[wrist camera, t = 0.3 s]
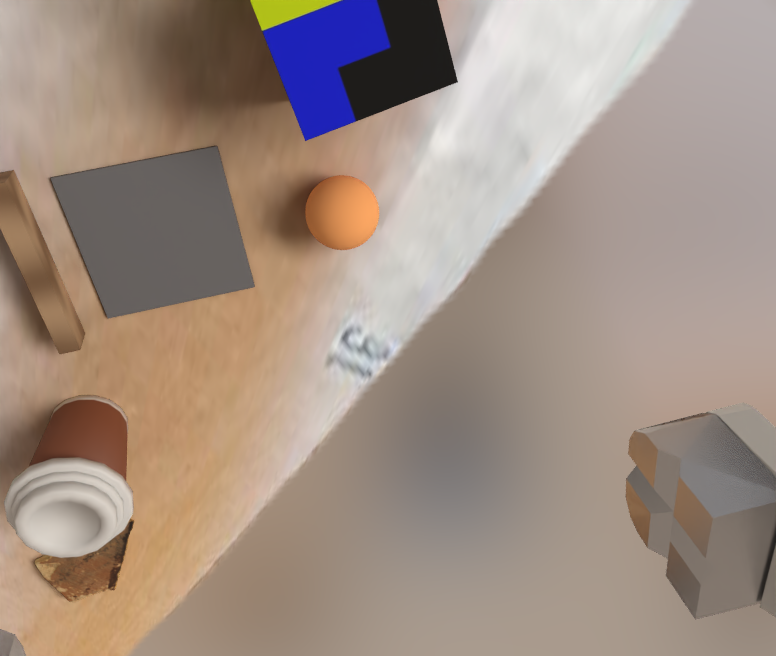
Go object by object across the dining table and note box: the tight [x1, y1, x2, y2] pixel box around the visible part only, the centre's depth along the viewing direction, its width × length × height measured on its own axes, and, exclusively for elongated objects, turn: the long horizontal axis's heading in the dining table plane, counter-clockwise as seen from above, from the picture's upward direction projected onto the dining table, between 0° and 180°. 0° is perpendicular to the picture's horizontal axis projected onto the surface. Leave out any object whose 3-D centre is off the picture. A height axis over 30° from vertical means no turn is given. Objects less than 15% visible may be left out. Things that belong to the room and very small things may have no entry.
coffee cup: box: [4, 395, 134, 558], centre depth 57 cm, size 9×9×12 cm
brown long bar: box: [0, 170, 85, 354], centre depth 53 cm, size 14×2×2 cm, turn 7°
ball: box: [305, 175, 379, 250], centre depth 54 cm, size 6×6×6 cm
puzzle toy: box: [250, 0, 458, 141], centre depth 45 cm, size 10×10×10 cm
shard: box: [35, 518, 134, 602], centre depth 71 cm, size 11×8×2 cm
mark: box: [50, 146, 255, 318], centre depth 55 cm, size 12×12×1 cm
